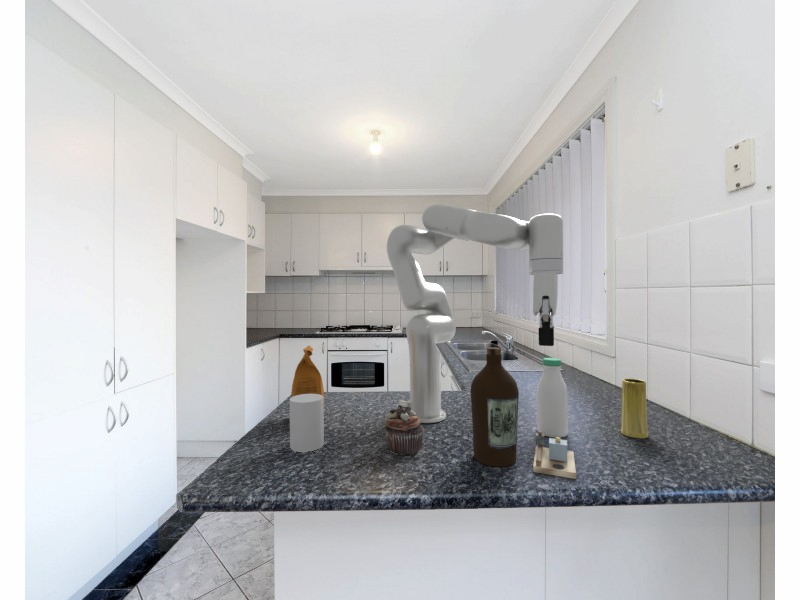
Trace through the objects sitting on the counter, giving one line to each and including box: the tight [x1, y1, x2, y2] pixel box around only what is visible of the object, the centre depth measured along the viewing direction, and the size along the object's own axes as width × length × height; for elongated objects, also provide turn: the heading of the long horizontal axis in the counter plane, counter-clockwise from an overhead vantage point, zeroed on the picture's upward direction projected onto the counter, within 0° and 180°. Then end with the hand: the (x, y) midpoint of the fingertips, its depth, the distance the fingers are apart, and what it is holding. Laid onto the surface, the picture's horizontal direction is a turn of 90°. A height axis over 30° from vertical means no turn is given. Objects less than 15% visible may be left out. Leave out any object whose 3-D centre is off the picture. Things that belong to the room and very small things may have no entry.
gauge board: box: [532, 431, 577, 480], centre depth 79 cm, size 8×11×5 cm
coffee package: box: [290, 345, 325, 408], centre depth 109 cm, size 10×12×22 cm
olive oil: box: [470, 346, 520, 468], centre depth 82 cm, size 11×11×25 cm
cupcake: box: [384, 404, 425, 455], centre depth 88 cm, size 10×10×10 cm
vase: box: [620, 378, 649, 439], centre depth 96 cm, size 6×6×14 cm
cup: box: [289, 394, 325, 452], centre depth 90 cm, size 8×8×12 cm
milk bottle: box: [536, 357, 569, 439], centre depth 97 cm, size 8×8×20 cm
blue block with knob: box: [548, 437, 568, 462], centre depth 79 cm, size 4×3×4 cm
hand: (546, 343), depth 85 cm, fingers open, 6 cm apart
